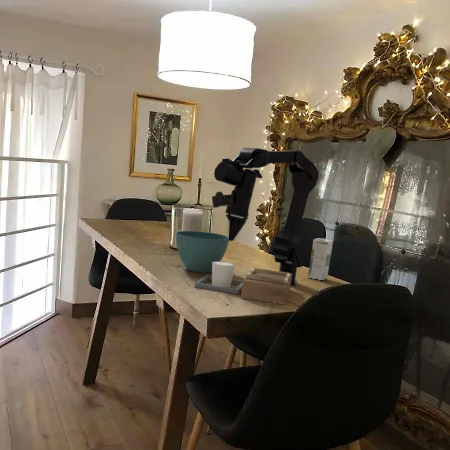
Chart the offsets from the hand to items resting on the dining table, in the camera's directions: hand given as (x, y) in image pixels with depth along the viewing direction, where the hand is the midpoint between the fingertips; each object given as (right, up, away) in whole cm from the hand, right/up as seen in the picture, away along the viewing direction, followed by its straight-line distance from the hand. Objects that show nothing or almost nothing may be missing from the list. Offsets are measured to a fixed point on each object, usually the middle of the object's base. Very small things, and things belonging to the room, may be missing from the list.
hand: (230, 240), depth 144 cm
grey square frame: (-3, -14, +3) cm, 14 cm away
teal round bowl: (-11, -11, +23) cm, 28 cm away
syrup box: (+32, -15, +32) cm, 47 cm away
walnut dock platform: (+11, -16, 0) cm, 19 cm away
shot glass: (-3, -14, +3) cm, 15 cm away
